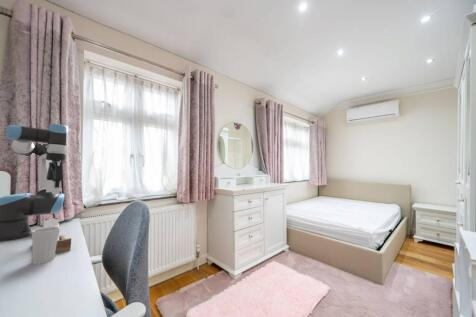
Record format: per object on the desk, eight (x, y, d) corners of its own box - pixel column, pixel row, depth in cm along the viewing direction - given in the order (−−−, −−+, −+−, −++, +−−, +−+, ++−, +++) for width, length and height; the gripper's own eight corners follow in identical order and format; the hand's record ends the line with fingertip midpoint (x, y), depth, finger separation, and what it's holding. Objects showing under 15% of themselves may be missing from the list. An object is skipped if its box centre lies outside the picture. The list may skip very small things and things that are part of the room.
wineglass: (47, 246, 92) (49, 220, 93) (37, 245, 93) (40, 220, 94) (60, 242, 97) (62, 218, 99) (51, 241, 99) (53, 217, 100)
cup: (24, 267, 71) (27, 233, 72) (34, 258, 78) (37, 228, 79) (53, 262, 75) (55, 230, 76) (60, 255, 82) (62, 226, 83)
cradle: (33, 244, 94) (34, 234, 94) (62, 239, 102) (62, 229, 102) (37, 257, 79) (38, 244, 80) (70, 250, 87) (71, 238, 88)
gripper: (41, 153, 108) (37, 191, 106) (52, 151, 93) (48, 195, 92) (59, 154, 114) (56, 190, 112) (72, 152, 99) (68, 194, 98)
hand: (52, 193), depth 102 cm, fingers open, 13 cm apart
